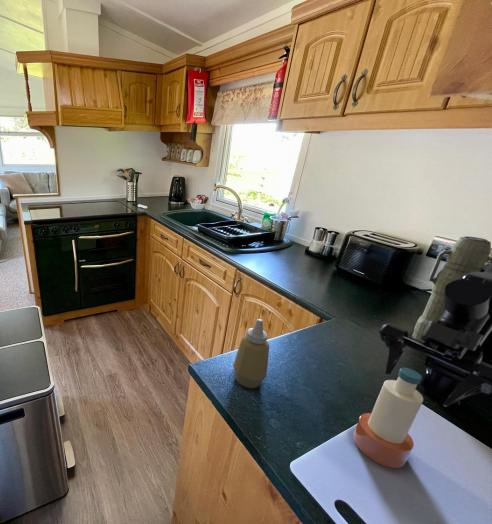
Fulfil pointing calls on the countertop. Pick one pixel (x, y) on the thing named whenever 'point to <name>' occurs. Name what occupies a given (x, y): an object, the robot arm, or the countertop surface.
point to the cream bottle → (396, 407)
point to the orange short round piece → (381, 445)
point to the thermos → (452, 276)
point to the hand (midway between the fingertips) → (413, 389)
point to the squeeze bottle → (252, 357)
